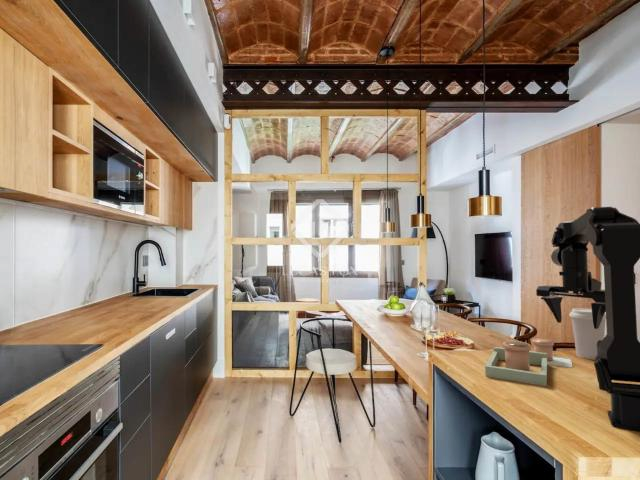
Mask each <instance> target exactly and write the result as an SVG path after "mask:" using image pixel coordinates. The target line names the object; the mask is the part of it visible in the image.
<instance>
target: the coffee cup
mask: <svg viewBox="0 0 640 480" xmlns="http://www.w3.org/2000/svg"><path fill="white" fill-rule="evenodd" d="M569 317H570V319H571V324H572V325H571V326H572V332H573V338H574V339H573V340H574V347H575V354H576V356H577V357H579V358H582V359H587V360H593V361H595V358H596V356H597V342H598V341H599V340H603V339H604V337H605V330H606V313H605V314H604V316H603V318H602V321H601V323H600V326H599V328H598V329H595V328H594V325H593V317H592V308H589V307H588V308H586V307H577V308H576V307H573V308H572V309H571V311H570V312H569Z"/></svg>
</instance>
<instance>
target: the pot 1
mask: <svg viewBox="0 0 640 480" xmlns="http://www.w3.org/2000/svg"><path fill="white" fill-rule="evenodd" d="M502 348H505V360H504V362H505V364H504V365H505V367H504V368H509V369H516V370H523V371H530V372H531V366H530V365H531V364H530V361H529V351H532V345H531V344H530V343H528V342H524V341H517V340H506V341H503V342H502Z"/></svg>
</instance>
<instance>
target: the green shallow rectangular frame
mask: <svg viewBox="0 0 640 480" xmlns="http://www.w3.org/2000/svg"><path fill="white" fill-rule="evenodd" d="M499 360H500V361H505V348H504V347H501V346H500V347H499V346H498V347H497V346H493V351H492V353H491V355H490V356H489V358H488V360H487V362H486V364H485V367H484V371H485V372H484V373H485V377H490V378H495V379H499V380H500V379H502V380H507V381H513V382H519V383H525V384H532V385H538V386H544V387H547V386H548V385H547V384H548V365H547V353H541V352H534V350H530V351H529V361H530V365H535V366H540V367H541V368H540V372H536V371H535V372H534V371H531V370H530V371H523V370H516V369H509V368H506V367H502V366H496V365H497V363H498V361H499Z"/></svg>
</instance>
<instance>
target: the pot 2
mask: <svg viewBox="0 0 640 480" xmlns="http://www.w3.org/2000/svg"><path fill="white" fill-rule="evenodd" d="M532 344H533V347H534V348H533V349H534V350H533V352H541V353H547V361H553V356H554V354H553V353H554V351H553V349H554V347H553V346H554V345H555V341H554V340H552V339H549V338H540V337H537V338H532Z"/></svg>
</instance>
